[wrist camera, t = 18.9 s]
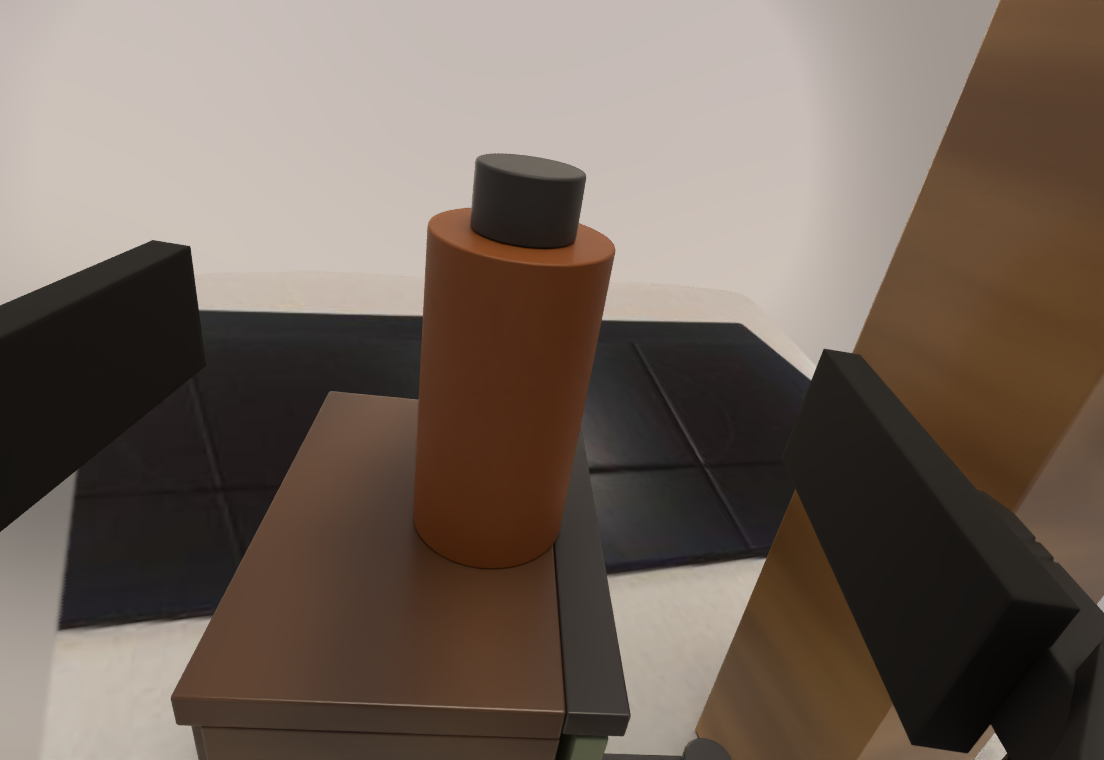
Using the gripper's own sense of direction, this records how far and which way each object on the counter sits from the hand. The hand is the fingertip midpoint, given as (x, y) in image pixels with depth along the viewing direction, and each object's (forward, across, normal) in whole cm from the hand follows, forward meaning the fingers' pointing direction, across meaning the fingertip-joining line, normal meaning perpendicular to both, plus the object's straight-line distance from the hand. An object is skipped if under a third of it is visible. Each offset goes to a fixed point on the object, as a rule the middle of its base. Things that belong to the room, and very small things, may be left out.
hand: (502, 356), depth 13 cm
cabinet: (+3, -2, -19) cm, 20 cm away
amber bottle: (+3, 0, -7) cm, 8 cm away
